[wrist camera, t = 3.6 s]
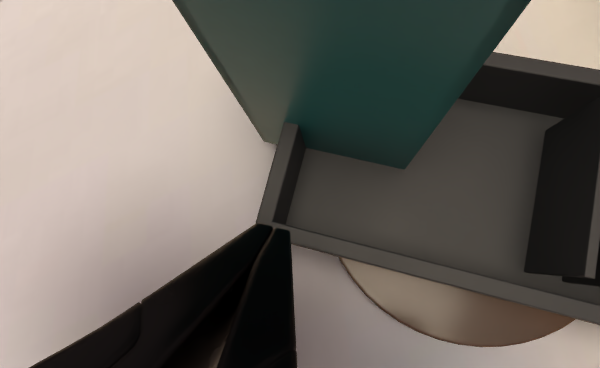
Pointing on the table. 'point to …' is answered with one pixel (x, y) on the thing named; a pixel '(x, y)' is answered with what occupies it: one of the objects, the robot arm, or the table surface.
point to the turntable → (452, 309)
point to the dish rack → (420, 141)
